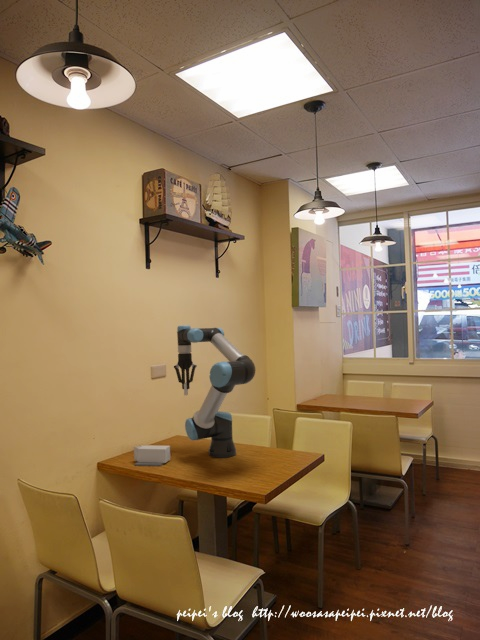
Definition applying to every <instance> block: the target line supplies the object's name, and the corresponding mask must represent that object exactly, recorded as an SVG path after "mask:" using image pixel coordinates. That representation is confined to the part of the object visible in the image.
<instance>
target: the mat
mask: <svg viewBox="0 0 480 640" xmlns="http://www.w3.org/2000/svg"><path fill="white" fill-rule="evenodd" d="M163 464H165V463H145V462H138V461H136V462H135V463H134V466H135V467H161V466H163Z"/></svg>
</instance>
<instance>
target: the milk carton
mask: <svg viewBox="0 0 480 640" xmlns="http://www.w3.org/2000/svg"><path fill="white" fill-rule="evenodd" d="M170 460H171V445H150V444H149V445H147V444H144V445H143V444H142V445H138V446H133V461H136V462H145V463H164V464H166V463H167V462H169V461H170Z"/></svg>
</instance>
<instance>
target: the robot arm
mask: <svg viewBox="0 0 480 640" xmlns="http://www.w3.org/2000/svg"><path fill="white" fill-rule="evenodd" d="M176 334H177V335H176V336H177V352H178V354H177V357H178V358H177V359H178V361H177V363H176V364H175V365H174V366H173V368H174V369H175V373H176V376H177V380H178V383H181V386H182V387H181V389H182V390H183V395H184V396H188V395H189V389H190V383H193V381H194V374H195V370H196V368H197V365H196V364H194V363H193V360H192V358H193V357H192V356H193V355H192V343H193V344H195V343H196V344H197V343H208V342H209V343H211V344H212V346H214V348H216V349H217V350H218V352H220V354H222V355H223V357H225V358H226V360H227V361H220V362H215V363H214V364H213V365H212V366H211V368H210V370H209V381H210V384H211V386H210V389H209V390H208V391H207V394H206V396H205V398H204V400H203V402H202V404H201V406H200V409H199V410H197V411H195V412H194V414H193V416H192V417H188V418H186V420H185V422H184V423H185V424H184V429H185V433H186V435H187V438H188V439H189V440H190V441H199V440H204V439H209V438H211V440H210V445H209V448H208V456H209V457H211V458H214V459H215V458H216V459H224V458H230V457H234V456H236V455H237V448H236V445H235V442H234V439H233V417H232V413H230V412H227V411H219V409H220V408H221V407H222V404H223V403H224V400H225V398H226V396H227V395H228V394H230V393H231V392H233V390H234V388H235V387H236V386H238V385H239V386H240V385H246V384H248V383H250V382H251V381H252V380H253V379H254V377H255V375H256V366H255V363H254V362H253V360H252V359H251V358H250V357H249V356H248V355H245V354H243V352H241V351H240V350H239V349H238V348H237V347H236V346H235V345H234V344H233V343H232V342H231V341H229V339H228V338H227V337H225V332H224V329H222V328H220V327H211V328H210V327H205V328H203V327H202V328H198V327H197V328H196V327H195V328H191V326H190V325H178V326H177V331H176ZM179 368H180V369H179ZM190 369H191V373H190ZM180 371H181V373H180Z"/></svg>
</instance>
